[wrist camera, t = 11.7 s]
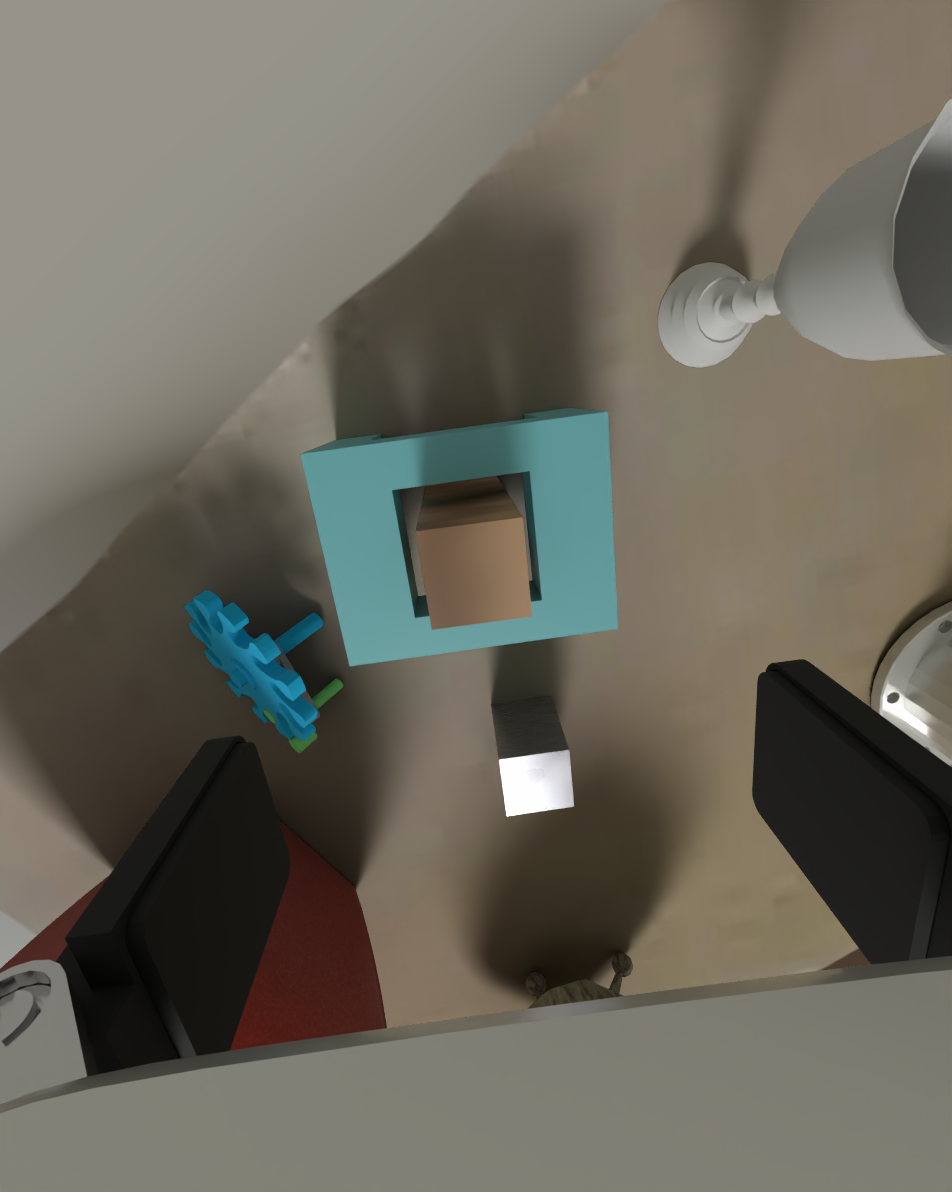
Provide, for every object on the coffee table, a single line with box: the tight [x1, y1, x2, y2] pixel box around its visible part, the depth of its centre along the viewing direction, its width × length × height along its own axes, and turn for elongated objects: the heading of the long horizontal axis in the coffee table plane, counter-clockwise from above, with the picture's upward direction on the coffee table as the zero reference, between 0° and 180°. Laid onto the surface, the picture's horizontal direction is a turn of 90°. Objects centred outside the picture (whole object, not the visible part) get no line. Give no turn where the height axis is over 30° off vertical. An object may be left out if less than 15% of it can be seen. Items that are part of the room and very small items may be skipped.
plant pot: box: [0, 820, 387, 1051], centre depth 33 cm, size 19×19×17 cm
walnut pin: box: [416, 476, 532, 630], centre depth 27 cm, size 4×4×12 cm
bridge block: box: [300, 408, 618, 666], centre depth 29 cm, size 13×10×8 cm
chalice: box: [658, 98, 952, 368], centre depth 21 cm, size 7×7×18 cm
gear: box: [184, 590, 343, 753], centre depth 33 cm, size 11×6×10 cm
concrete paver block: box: [491, 696, 574, 816], centre depth 35 cm, size 4×4×6 cm
